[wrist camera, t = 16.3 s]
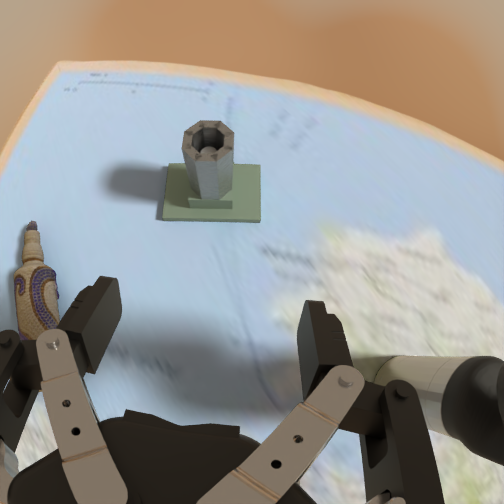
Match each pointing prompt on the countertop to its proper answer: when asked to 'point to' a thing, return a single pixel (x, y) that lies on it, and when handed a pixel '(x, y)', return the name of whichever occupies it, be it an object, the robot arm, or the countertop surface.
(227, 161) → the hub
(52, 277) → the decorative bottle
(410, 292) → the countertop surface
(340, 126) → the countertop surface
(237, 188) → the green peg stand
